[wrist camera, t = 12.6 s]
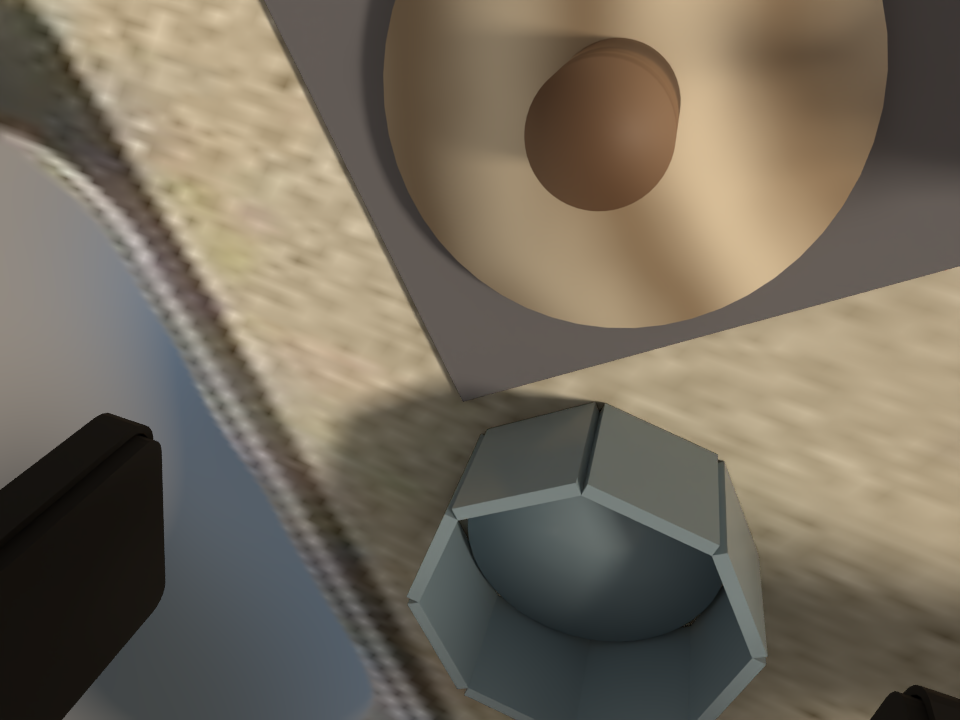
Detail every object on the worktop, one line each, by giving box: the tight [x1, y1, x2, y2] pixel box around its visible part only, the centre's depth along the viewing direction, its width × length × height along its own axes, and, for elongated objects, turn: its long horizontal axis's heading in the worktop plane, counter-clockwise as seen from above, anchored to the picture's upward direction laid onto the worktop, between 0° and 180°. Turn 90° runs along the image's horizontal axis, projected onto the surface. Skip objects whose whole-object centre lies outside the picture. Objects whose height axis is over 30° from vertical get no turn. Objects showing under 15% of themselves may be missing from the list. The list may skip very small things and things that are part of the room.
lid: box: [383, 0, 888, 328], centre depth 25 cm, size 17×17×6 cm
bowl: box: [407, 402, 768, 720], centre depth 35 cm, size 14×14×6 cm
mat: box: [264, 0, 960, 401], centre depth 28 cm, size 22×20×1 cm
